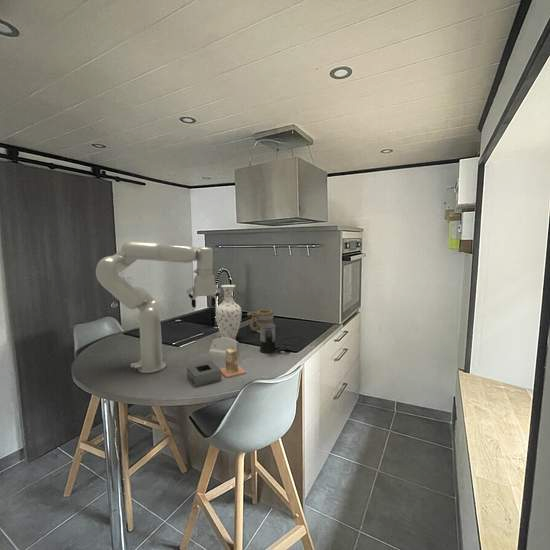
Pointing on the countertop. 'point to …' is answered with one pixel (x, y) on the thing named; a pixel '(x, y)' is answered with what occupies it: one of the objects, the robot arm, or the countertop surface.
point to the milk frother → (268, 339)
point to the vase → (228, 314)
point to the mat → (228, 375)
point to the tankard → (261, 319)
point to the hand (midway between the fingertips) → (203, 306)
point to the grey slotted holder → (203, 373)
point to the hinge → (223, 346)
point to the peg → (232, 360)
